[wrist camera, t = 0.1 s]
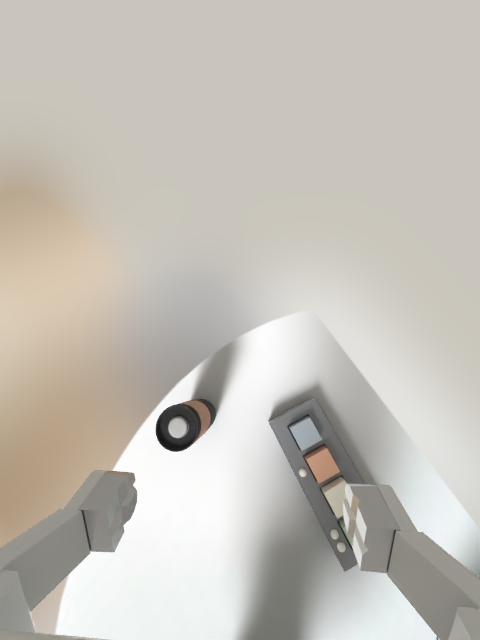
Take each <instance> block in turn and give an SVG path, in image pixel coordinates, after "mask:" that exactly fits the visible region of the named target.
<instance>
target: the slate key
mask: <svg viewBox="0 0 480 640" xmlns="http://www.w3.org/2000/svg"><path fill="white" fill-rule="evenodd" d="M288 427H289V429H290V431H291V433H292V435H293V437H294V439H295V440H296V442H297V444H298V446H299V448H300V449H301V451H303V450H305V449H307V448H308V447H310V446H312V445H314V444H315V443H317V442H319V441H321V440H322V438H321V436H320V434H319V433H318V431H317V429H316V427H315V425H314V424H313V422H312V420H311V418H310V417H309V416H307V415H306V416H304V417H302V418H301V419H299V420H297V421H295V422H293V423H291V424H290V425H288Z"/></svg>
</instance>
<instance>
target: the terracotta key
mask: <svg viewBox="0 0 480 640" xmlns="http://www.w3.org/2000/svg"><path fill="white" fill-rule="evenodd" d="M303 456H304V458H305V459H306V461H307V463H308V465H309V467H310V469H311V471H312V473H313V475H314V477H315V478H316V480H317V481H318V483H319V484H320V483H321V482H323V481H325V480H327V479H328V478H330V477H332V476H334V475H335V474H337V473H339V472H340V471H339V469H338V467H337V465H336V463H335V462H334V460H333V458H332V456H331V454H330V453H329V451H328V449H327V448H326V447H325V446H324V445H321V446H319V447H317V448H316V449H314V450H312V451H310V452H309V453H307V454H305V455H303Z"/></svg>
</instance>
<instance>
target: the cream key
mask: <svg viewBox="0 0 480 640" xmlns="http://www.w3.org/2000/svg"><path fill="white" fill-rule="evenodd" d="M346 484H347V483H346V481H345V480H344V479H343V478H342V477H341V476H339V477H337V478H335V479H333V480H332V481H330V482H328V483H326V484H325V485H323V486H321V487H320V488H321V490H322V492H323V494H324V496H325V498H326V499H327V501H328V503H329V505H330V507H331V509H332V511H333V512H334V514H335V516H336V517H337V519H338V518H340V517H341V516H343V501H344V500H345V499H346V498H347V497H346V494H345V486H346Z"/></svg>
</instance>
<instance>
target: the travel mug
mask: <svg viewBox="0 0 480 640" xmlns="http://www.w3.org/2000/svg"><path fill="white" fill-rule="evenodd" d="M214 420H215V409H214V407H213V405H212V404H211V403H210V402H209V401H207V400H203V399H200V400H191V401H187V402H184V403H180V404H177V405H173V406H170V407H169V408H167V409H166V410H164V411H163V412H162V414H161V415H160V416H159V418H158V420H157V424H156V436H157V439H158V441H159V443H160V444H161V445H162V446H163V447H164V448H165V449H167V450H170V451H174V452H178V451H182V450H185V449H187V448H188V447H190V446H191V445H192V444H193V443H194V442H195V441H197V440H198V439H199V438H200V437H201V436H202V435H203V434H204V433H205V432H206V431H207V430H208V429H209V428H210V426H211V425H212V424H213V422H214Z"/></svg>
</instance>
